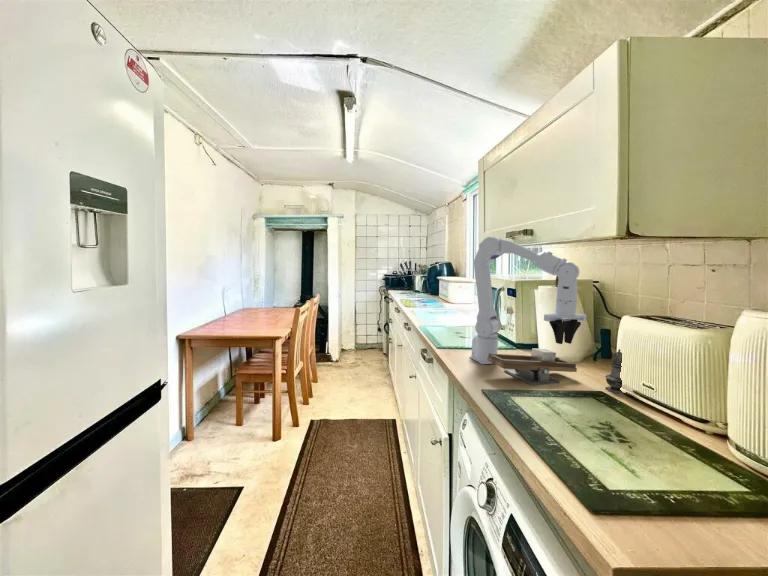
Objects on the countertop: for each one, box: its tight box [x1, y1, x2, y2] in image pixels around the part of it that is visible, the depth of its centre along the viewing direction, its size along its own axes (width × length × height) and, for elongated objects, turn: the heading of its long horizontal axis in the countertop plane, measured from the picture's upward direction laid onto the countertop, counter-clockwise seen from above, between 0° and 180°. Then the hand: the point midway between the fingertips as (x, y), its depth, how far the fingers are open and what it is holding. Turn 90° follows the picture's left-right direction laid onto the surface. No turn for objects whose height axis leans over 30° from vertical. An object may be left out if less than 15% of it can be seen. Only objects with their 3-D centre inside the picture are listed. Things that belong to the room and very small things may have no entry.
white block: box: [530, 347, 557, 362], centre depth 114 cm, size 5×5×4 cm
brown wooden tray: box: [487, 353, 578, 373], centre depth 113 cm, size 9×26×2 cm, turn 106°
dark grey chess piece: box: [604, 348, 624, 395], centre depth 103 cm, size 6×6×12 cm
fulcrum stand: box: [504, 368, 560, 386], centre depth 113 cm, size 14×10×4 cm
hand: (563, 343), depth 116 cm, fingers open, 3 cm apart
